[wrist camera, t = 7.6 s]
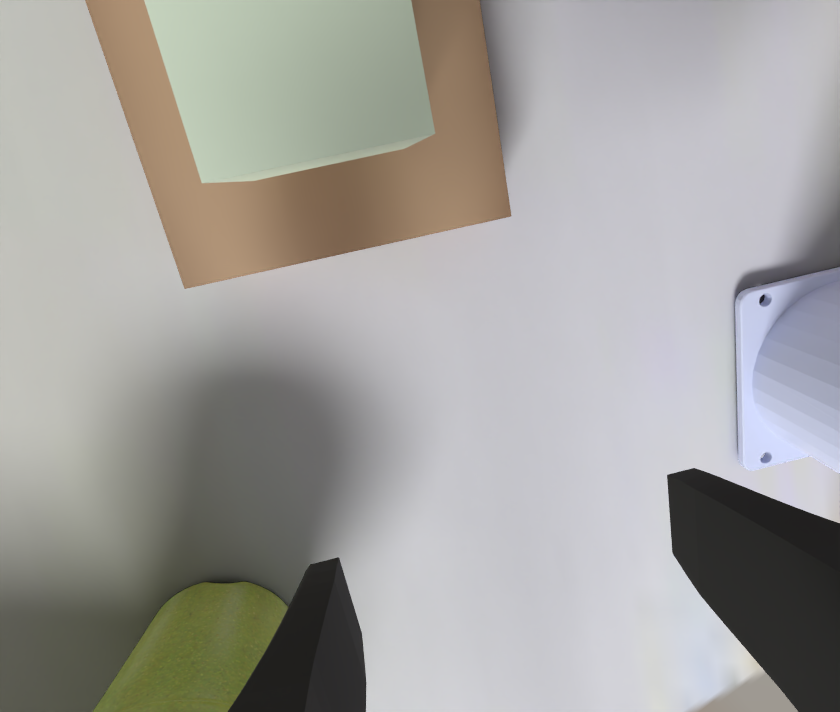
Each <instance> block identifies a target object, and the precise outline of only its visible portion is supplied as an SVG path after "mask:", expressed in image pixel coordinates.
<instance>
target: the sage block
mask: <svg viewBox="0 0 840 712" xmlns="http://www.w3.org/2000/svg"><path fill="white" fill-rule="evenodd" d="M144 2H145V5H146V8H147V11H148V14H149V17H150V21H151V24H152V27H153V30H154V33H155V36H156V40H157V43H158V46H159V49H160V52H161V55H162V59H163V62H164V65H165V68H166V71H167V74H168V78H169V81H170V84H171V87H172V90H173V94H174V97H175V100H176V103H177V106H178V109H179V113H180V116H181V119H182V122H183V125H184V128H185V132H186V135H187V138H188V141H189V144H190V147H191V151H192V154H193V157H194V160H195V163H196V166H197V170H198V173H199V176H200V179H201V182H202V183H220V182H243V181H256V180H261V179H265V178H270V177H275V176H279V175H284V174H289V173H293V172H298V171H303V170H307V169H312V168H317V167H321V166H326V165H331V164H335V163H340V162H345V161H349V160H354V159H359V158H363V157H368V156H373V155H377V154H382V153H387V152H392V151H396V150H401V149H405V148H407V147H409V146H411V145H413V144H415V143H417V142H419V141H421V140H423V139H425V138H427V137H429V136H431V135H433V134H435V129H434V124H433V118H432V113H431V107H430V102H429V96H428V90H427V85H426V79H425V74H424V68H423V63H422V57H421V52H420V46H419V41H418V35H417V30H416V24H415V19H414V13H413V8H412V2H411V0H144Z"/></svg>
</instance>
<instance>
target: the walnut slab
mask: <svg viewBox="0 0 840 712" xmlns="http://www.w3.org/2000/svg"><path fill="white" fill-rule="evenodd" d="M85 1H86V4H87V7H88V10H89V13H90V15H91V18H92V21H93V24H94V27H95V30H96V33H97V36H98V39H99V42H100V44H101V47H102V50H103V53H104V56H105V59H106V62H107V65H108V68H109V71H110V73H111V76H112V79H113V82H114V85H115V88H116V91H117V94H118V97H119V100H120V102H121V105H122V108H123V111H124V114H125V117H126V120H127V123H128V126H129V129H130V132H131V134H132V137H133V140H134V143H135V146H136V149H137V152H138V155H139V158H140V161H141V163H142V166H143V169H144V172H145V175H146V178H147V181H148V184H149V187H150V190H151V192H152V195H153V198H154V201H155V204H156V207H157V210H158V213H159V216H160V219H161V221H162V224H163V227H164V230H165V233H166V236H167V239H168V242H169V245H170V248H171V250H172V253H173V256H174V259H175V262H176V265H177V268H178V271H179V274H180V277H181V280H182V282H183V285H184V288H185V289H186V288H191V287H195V286H200V285H204V284H209V283H213V282H218V281H222V280H227V279H231V278H236V277H240V276H245V275H249V274H254V273H258V272H263V271H267V270H272V269H276V268H281V267H285V266H290V265H294V264H299V263H303V262H308V261H312V260H317V259H321V258H326V257H330V256H335V255H339V254H344V253H348V252H353V251H357V250H362V249H366V248H371V247H375V246H380V245H384V244H389V243H393V242H398V241H402V240H407V239H411V238H416V237H420V236H425V235H429V234H434V233H438V232H443V231H447V230H452V229H456V228H461V227H465V226H470V225H474V224H479V223H483V222H488V221H492V220H497V219H501V218H506V217H510V216H511V211H510V204H509V197H508V190H507V183H506V177H505V170H504V163H503V156H502V149H501V143H500V136H499V129H498V122H497V115H496V109H495V102H494V95H493V88H492V81H491V75H490V68H489V61H488V54H487V47H486V40H485V34H484V27H483V20H482V13H481V6H480V0H411V2H412V8H413V13H414V19H415V24H416V30H417V35H418V41H419V46H420V52H421V57H422V63H423V68H424V74H425V79H426V85H427V90H428V96H429V102H430V107H431V113H432V118H433V124H434V129H435V134H433V135H431V136H429V137H427V138H425V139H423V140H421V141H419V142H417V143H415V144H413V145H411V146H409V147H407V148H405V149H401V150H396V151H392V152H387V153H382V154H377V155H373V156H368V157H363V158H359V159H354V160H349V161H345V162H340V163H335V164H331V165H326V166H321V167H317V168H312V169H307V170H303V171H298V172H293V173H289V174H284V175H279V176H275V177H270V178H265V179H261V180H256V181H243V182H220V183H202V182H201V179H200V176H199V173H198V170H197V166H196V163H195V160H194V157H193V154H192V151H191V147H190V144H189V141H188V138H187V135H186V132H185V128H184V125H183V122H182V119H181V116H180V113H179V109H178V106H177V103H176V100H175V97H174V94H173V90H172V87H171V84H170V81H169V78H168V74H167V71H166V68H165V65H164V62H163V59H162V55H161V52H160V49H159V46H158V43H157V40H156V36H155V33H154V30H153V27H152V24H151V21H150V17H149V14H148V11H147V8H146V5H145V2H144V0H85Z"/></svg>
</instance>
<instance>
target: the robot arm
mask: <svg viewBox="0 0 840 712" xmlns="http://www.w3.org/2000/svg"><path fill="white" fill-rule="evenodd" d="M763 294H764V295H765V298H764V301H763V302H762V303H761V304H759V299H760V297H761V296H762V295H763ZM735 320H736V366H737V411H738V457H739V463H740V464H741V466H743V467H744V468H745V469H747V470H750V471H752V470H758V469H762V468H766V467H770V466H774V465H778V464H781V463H785V462H789V461H793V460H797V459H801V458H805V457H809V456H811V457H813V458H814V459H816V460H818V461H819V462H821V463H822V464H824V465H826V466H827V467H829V468H831V469H832V470H834V471H836V472H837V473H839V474H840V267H838V268H833V269H829V270H825V271H820V272H816V273H812V274H808V275H803V276H799V277H795V278H791V279H786V280H782V281H778V282H774V283H769V284H765V285H761V286H757V287H752V288H748V289H745V290H743V291H742V292H741V293H739V294H738V296H737V298H736V302H735ZM764 453H765V455H764V457H763V458H761V456H762V455H763V454H764ZM760 458H761V459H760ZM667 479H668V494H669V508H670V523H671V537H672V552H673V554H674V556H675V557H676V559H677V561H678V562H679V564H680V565H681V567H682V568H683V570H684V572H685V573H686V575H687V576H688V578H689V579H690V581H691V582H692V584H693V585H694V587H695V588H696V589H697V591H698V592H699V594H700V595H701V596H702V598H703V599H704V600H705V601H706V602H707V604H708V605H709V606H710V607H711V608H712V610H713V611H714V612H715V613H716V614H717V616H718V617H719V618H720V619H721V620H722V621H723V623H724V624H725V625H726V626H727V627H728V629H729V630H730V631H731V632H732V633H733V634H734V635H735V637H736V638H737V639H738V640H739V641H740V642H741V644H742V645H743V646H744V647H745V648H746V649H747V651H748V652H749V653H750V654H751V655H752V656H753V658H754V659H755V660H756V661H757V662H758V663H759V665H760V666H761V667H762V668H763V669H764V670H765V672H766V673H767V674H768V675H769V676H770V677H771V679H772V680H773V681H774V682H775V683H776V684H777V686H778V687H779V688H780V689H781V690H782V692H783V693H784V694H785V695H786V697H787V698H788V699H789V700H790V702H791V703H792V704H793V705H794V706H795V708H796V709H797V710H798V712H840V523H837V522H834V521H831V520H828V519H825V518H822V517H820V516H817V515H814V514H811V513H809V512H806V511H803V510H801V509H798V508H795V507H793V506H790V505H788V504H785V503H782V502H780V501H777V500H775V499H772V498H770V497H767V496H765V495H762V494H760V493H757V492H755V491H752V490H750V489H747V488H745V487H742V486H740V485H737V484H735V483H733V482H730V481H728V480H725V479H723V478H720V477H717V476H715V475H712V474H710V473H707V472H704V471H701V470H698V469H695V468H693V469H689V470H685V471H681V472H677V473H673V474H669V475H667ZM228 712H366V674H365V662H364V652H363V641H362V633H361V629H360V626H359V623H358V619H357V616H356V613H355V609H354V606H353V603H352V599H351V596H350V593H349V589H348V586H347V583H346V580H345V576H344V573H343V570H342V566H341V563H340V560H339V558H335V559H331V560H327V561H323V562H319V563H315V564H311V565H310V566H309V567H308V569H307V570H306V572H305V574H304V576H303V579H302V581H301V583H300V585H299V587H298V589H297V591H296V593H295V595H294V597H293V599H292V602H291V604H290V606H289V608H288V610H287V611H286V613H285V615H284V617H283V619H282V621H281V623H280V625H279V627H278V629H277V630H276V632H275V634H274V636H273V638H272V640H271V642H270V644H269V645H268V647H267V649H266V651H265V652H264V654H263V656H262V658H261V659H260V661H259V662H258V664H257V666H256V667H255V669H254V671H253V672H252V674H251V676H250V677H249V679H248V681H247V682H246V684H245V686H244V687H243V689H242V690H241V692H240V694H239V695H238V697H237V698H236V700H235V701H234V703H233V704H232V706H231V707H230V709H229V710H228Z"/></svg>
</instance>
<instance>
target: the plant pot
mask: <svg viewBox="0 0 840 712" xmlns="http://www.w3.org/2000/svg"><path fill="white" fill-rule="evenodd" d="M287 610H288V606H287V605H286V604H285V603H284V602H283V601H282V600H281V599H280V598H279V597H278V596H276V595H275V594H273V593H272V592H270V591H269V590H267V589H265V588H263V587H261V586H258V585H255V584H252V583H249V582H237V583H224V584H220V583H209V582H203V583H199V584H196V585H193V586H191V587H188V588H186V589H184V590H182V591H181V592H179V593H177V594H176V595H175V596H173V597H172V598H171V599H169V600H168V601H167V602H166V603H165V604H164V605H163V606H162V607H161V609H160V610H159V611H158V613H157V614H156V616H155V617H154V619H153V620H152V622H151V623H150V625H149V626H148V628H147V629H146V631H145V633H144V634H143V636H142V637H141V639H140V640H139V642H138V643H137V645H136V646H135V648H134V649H133V651H132V653H131V654H130V656H129V657H128V659H127V660H126V662H125V663H124V665H123V666H122V668H121V669H120V671H119V673H118V674H117V676H116V677H115V679H114V680H113V682H112V683H111V685H110V686H109V688H108V689H107V691H106V692H105V694H104V695H103V697H102V698H101V700H100V701H99V703H98V704H97V706H96V707H95V709H94V710H93V712H228V710H229V709H230V707H231V706H232V704H233V703H234V701H235V700H236V698H237V697H238V695H239V694H240V692H241V690H242V689H243V687H244V686H245V684H246V682H247V681H248V679H249V677H250V676H251V674H252V672H253V671H254V669H255V667H256V666H257V664H258V662H259V661H260V659H261V658H262V656H263V654H264V652H265V651H266V649H267V647H268V645H269V644H270V642H271V640H272V638H273V636H274V634H275V632H276V630H277V629H278V627H279V625H280V623H281V621H282V619H283V617H284V615H285V613H286V611H287Z"/></svg>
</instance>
